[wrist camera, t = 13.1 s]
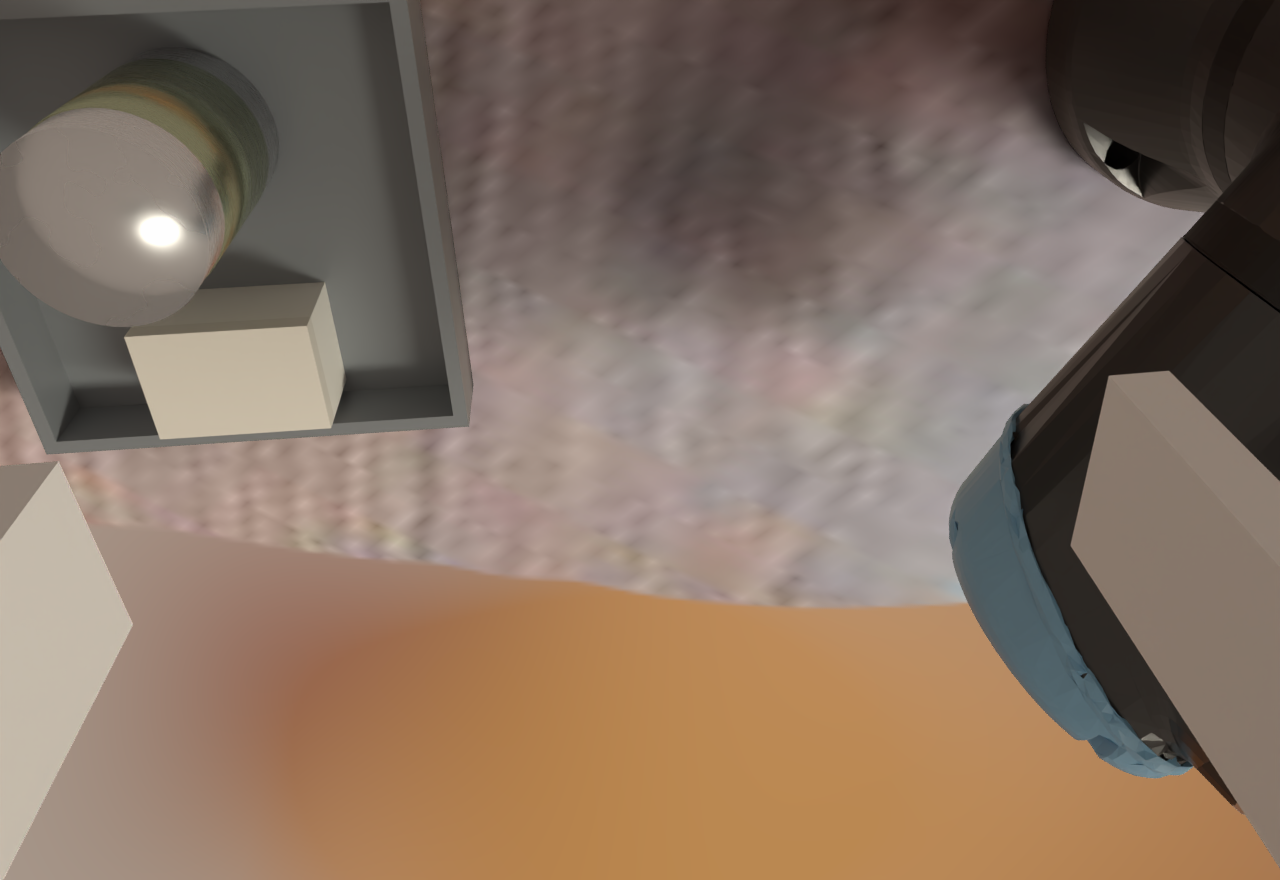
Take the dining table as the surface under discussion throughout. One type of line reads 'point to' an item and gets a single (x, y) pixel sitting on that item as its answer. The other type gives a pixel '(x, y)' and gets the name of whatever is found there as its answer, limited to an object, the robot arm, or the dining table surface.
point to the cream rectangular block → (241, 362)
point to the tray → (266, 206)
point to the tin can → (136, 187)
